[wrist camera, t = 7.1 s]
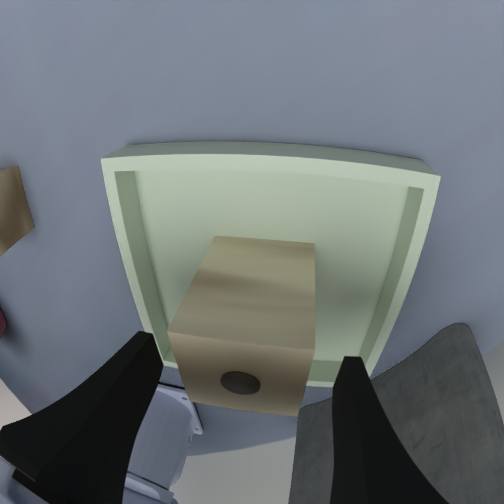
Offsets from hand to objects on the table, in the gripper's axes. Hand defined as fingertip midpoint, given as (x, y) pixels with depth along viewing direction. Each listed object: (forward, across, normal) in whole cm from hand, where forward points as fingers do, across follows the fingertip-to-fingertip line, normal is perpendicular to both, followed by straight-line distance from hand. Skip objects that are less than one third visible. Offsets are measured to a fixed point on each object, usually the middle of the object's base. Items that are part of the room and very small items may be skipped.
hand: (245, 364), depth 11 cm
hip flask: (+6, -9, +10) cm, 15 cm away
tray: (+6, 0, 0) cm, 6 cm away
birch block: (+5, 0, 0) cm, 5 cm away
